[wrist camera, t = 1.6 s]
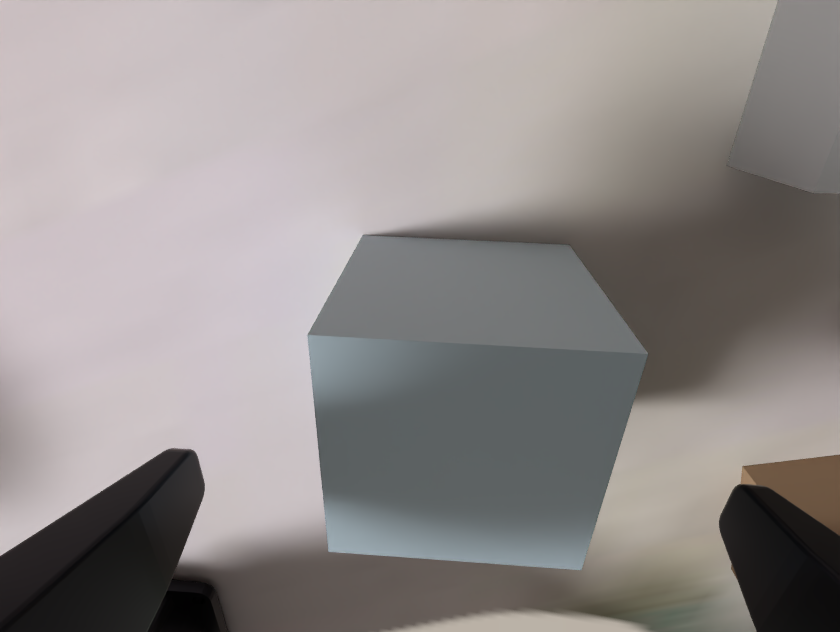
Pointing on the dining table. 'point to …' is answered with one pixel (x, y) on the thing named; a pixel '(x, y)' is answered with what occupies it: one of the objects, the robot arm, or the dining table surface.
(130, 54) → the dining table surface
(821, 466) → the walnut cube
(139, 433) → the dining table surface
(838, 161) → the base block
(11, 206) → the dining table surface
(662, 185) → the dining table surface
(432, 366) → the slate cube
